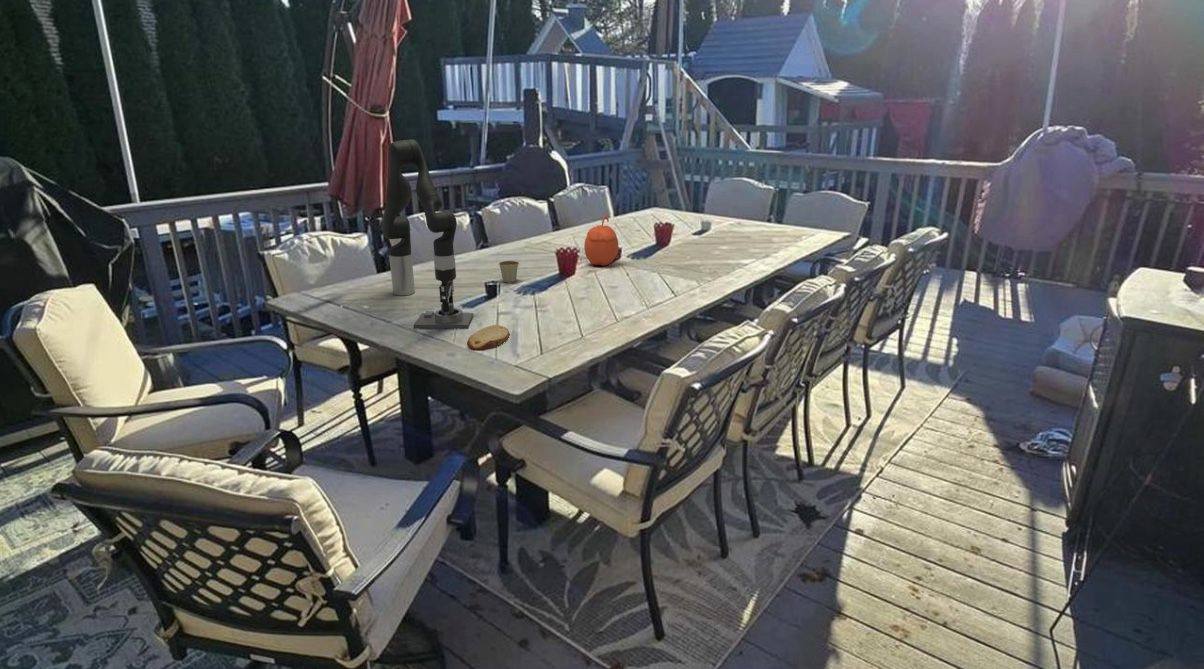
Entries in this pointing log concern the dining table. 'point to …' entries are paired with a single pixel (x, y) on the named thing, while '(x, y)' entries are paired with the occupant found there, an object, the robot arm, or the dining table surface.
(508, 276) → the flower pot
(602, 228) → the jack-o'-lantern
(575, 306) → the dining table surface
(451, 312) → the domed grey cylinder
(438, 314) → the grey thick ring
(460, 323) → the camera plate
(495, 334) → the slice of bread
